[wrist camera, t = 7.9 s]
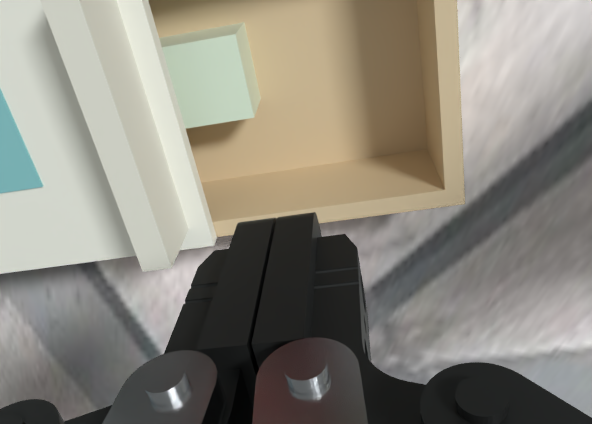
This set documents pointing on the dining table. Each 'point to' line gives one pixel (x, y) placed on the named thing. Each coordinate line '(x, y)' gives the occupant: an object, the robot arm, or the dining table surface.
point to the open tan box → (333, 109)
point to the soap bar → (212, 75)
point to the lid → (92, 140)
